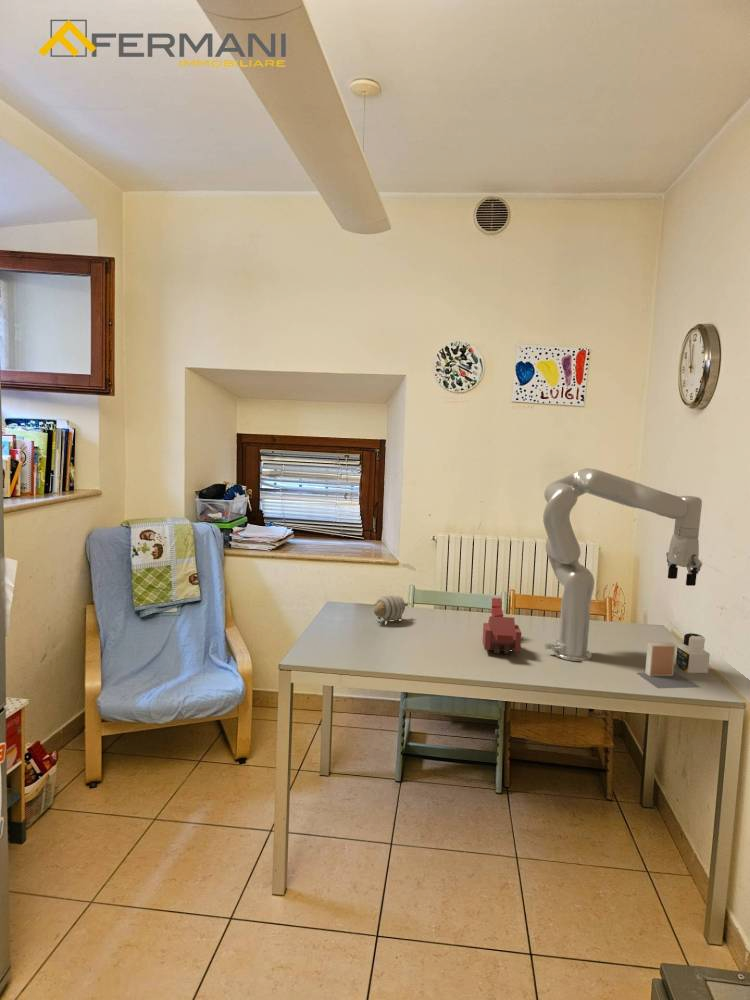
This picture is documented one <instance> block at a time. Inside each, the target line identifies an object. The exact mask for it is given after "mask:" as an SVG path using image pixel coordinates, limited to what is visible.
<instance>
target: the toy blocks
mask: <svg viewBox="0 0 750 1000" xmlns="http://www.w3.org/2000/svg"><path fill="white" fill-rule="evenodd" d="M502 606H503V600H502V597H501V598H500V597H498V598H497V597H491V615H489V617H488V621H487V622H483V625H482V640H481V641H482V645H483V649H484V650H485V651H491V650H490V649H494V650H493V654H494V653H499V654H500V651H501V650H504V651H503V654H504V655H510V653H511V652H513V650H514V652H515V653H516V652H517V653H519V652H520V653H521V646H522V645H521V644H522V631H521V629H520V627H519V625H518V624H516V622H515V621H516V620H515V617H511V616H509V617H508V616H504V612H503V607H502ZM510 650H512V651H510Z"/></svg>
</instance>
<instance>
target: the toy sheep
mask: <svg viewBox="0 0 750 1000" xmlns="http://www.w3.org/2000/svg"><path fill="white" fill-rule="evenodd" d="M408 605H409V603H408V602H405V600H404V598H403V597H401V596H400V595H398V594H392V593H391V594H389V593H388V594H385V595H383V596H381V597H380V598H378V599H377V601H376V602H375V603H374V606H375V607H374V609H373V614H374V615H375V616H377V617H376V618H378V619H380V620H381V619H382V618H383V619H384V620H383V619H382V620H383V621H388V620H394V621H393V622H395V621H396V619H397V620H398V619H402V617H403V613H405V609H406V607H408ZM388 622H389V621H388Z"/></svg>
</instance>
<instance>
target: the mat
mask: <svg viewBox="0 0 750 1000" xmlns="http://www.w3.org/2000/svg"><path fill="white" fill-rule="evenodd" d="M636 675H638V676H640V677H641V678H642V679H643V680H645V681H647V682H649V684H651V685H652V686H654V687H655V688H657V689H676V688H677V689H678V688H679V689H681V688H683V689H685V688H701V686H700V685H698V684H696V683H695V682H693V681H692V680H690V679H688V678H686V677H685V676H684V675H682V674H680V673H678V672H677V671H673V675H672V676H649V675H647V674H646V673H645V672H636Z"/></svg>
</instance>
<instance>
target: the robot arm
mask: <svg viewBox="0 0 750 1000" xmlns="http://www.w3.org/2000/svg"><path fill="white" fill-rule="evenodd" d="M585 494H589V495H592V496H595V497H597V498H601V499H604V500H607V501H611V502H612V503H613V502H614V503H616V504H619V505H623V506H626V507H630V508H634V509H640V510H644V511H646V512H650V513H654V514H656V515H658V516H661V517H663V518H664V517H665V518H668V519H671V520H674V529H673V534H672V536H671V538H670V543H669V549H668V552H666V562H667V567H668V572H667V579H671V580H676V579H677V578H678V570H679V567H682V568H686V570H687V573H686V579H685V580H686V581H685V586H687V587H688V586H689V587H690V586H692V587H694V586H696V584H697V583H696V582H697V575H698V574H699V572H700V570H701V568H702V567H703V562H702V561H701V560H700V559H699V554H700V545H699V543H700V542H699V535H700V533H699V532H700V523H701V517H702V516H701V513H702V506H703V501H702V498H700V497H699V496H693V495H679V496H678V495H674V494H672V493H669V492H666V491H663V490H659V489H657V488H652V487H649V486H647V485H645V484H642V483H640V482H636V481H633V480H631V479H627V478H624V477H621V476H618V475H616V474H612V473H608V472H606V471H602V470H601V469H596V468H595V469H594V468H582V469H579V470H577V471H575V472H573V473H570V474H568V475H566V476H564V477H562V478H559V479H556V480H555V481H552V482H551V483H549V484H548V485H547V486H546V488H545V490H544V499H545V501H546V502H547V503H546V505H545V508H544V511H543V524H544V529H545V532H546V535H547V539H546V541H545V552H546V555H547V557H548V560H549V563H550V565H551V568H552V570H553V571H552V572H553V574H554V576H555V577H556V580H557V582H559V584H560V585H562V586H563V589H564V590H563V593H562V597H561V603H560V621H559V631H558V632H559V633H558V639H556V640H555V642H553V643H545V644H544V649H545V650H551V651H552V652H553V655H554V656H556V657H558V658H560V659H561V660H562V659H563V660H567V661H572V662H582V661H589V660H590V659H592V657H593V654H592V652H590V651H589V650H588V647H589V634H590V633H589V632H590V631H589V629H590V619H591V616H590V615H591V605H592V597H593V593H594V588H595V578H594V576H593V573H592V572H591V570H590V569H589V568H587V567H585V566H584V565H582V564H581V563H580V561H579V559H580V557H581V547H580V544H579V542H578V538H576V533H575V531H574V530H573V526H572V523H571V519H570V516H571V511H572V510H573V508H574V506H576V504H577V501H578V499H579V498H578V497H580V496H582V495H585ZM678 566H679V567H678Z"/></svg>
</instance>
